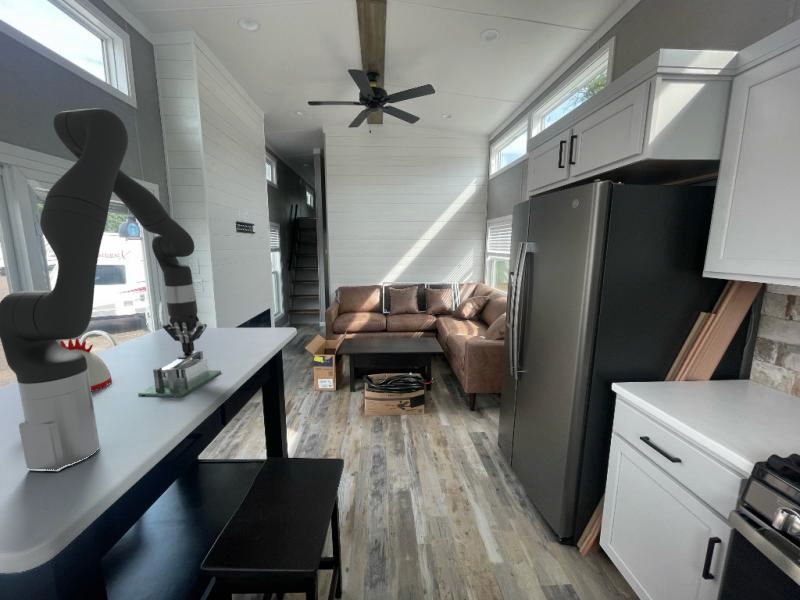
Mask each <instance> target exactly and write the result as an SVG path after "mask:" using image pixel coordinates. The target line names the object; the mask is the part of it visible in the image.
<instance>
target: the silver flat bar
mask: <svg viewBox="0 0 800 600" xmlns="http://www.w3.org/2000/svg"><path fill="white" fill-rule="evenodd" d="M198 351H199V350H194V351H193V353H191V354H184V353H183V354H181V355H179V356H177V359H175V360H174V361H172V362H171V363H169V364H167V365H165V366H164V367H161V368H162V369H160V370H159V373H168V371H167V370H168V369H170V368H176V367H178V366H180V365H181V364H183V363H184V362H186V361H187V360H189V359H192V357H193V356H195V355H197V354H198Z"/></svg>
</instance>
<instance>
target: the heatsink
mask: <svg viewBox="0 0 800 600" xmlns="http://www.w3.org/2000/svg"><path fill="white" fill-rule="evenodd" d="M197 351H198V354H197V355H195V356H193V357H192V358H190V359H189V360H187V361H186V362H184V363H183V364H181V365H180V366H178V367H176V368H170V369H168V370H167V371H168V373H159V370H160V369H162V368H163V367H156V368H153V370H152V372H153V381H154V384H153V385H152V386H150V387H148V388H146V389H143V390H142V391H140V392H137V393H138V395H137V396H138V397H143V396H142V395H145V396H144V397H165V396H176V397H175V398H183V397H186V395H188V394H190V393H191V392H193V391H195V390H196V389H197V388H200V387H201V386H202V385H204V384H206V383H207V382H209V381H211V380H212V379H214V378H216V377H217V376H218V375H220V374H222V370H214V369H213V370H210V369H209V365H208V358H204V353H203V352H204V351H203V350H197Z"/></svg>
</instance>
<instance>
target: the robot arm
mask: <svg viewBox="0 0 800 600" xmlns="http://www.w3.org/2000/svg"><path fill="white" fill-rule="evenodd" d="M52 124H53V128H54V131H55V133H56V135H57V137H58V139H59V140H60V141H61V143H62V144H63V145H64V146H65V147H66V149H67V150H69V152H70V153H72V154H73V155H74V157H76V158H77V161H76V162H75V163H74V164H73V165H72V166H71V167H70V168H69V169H67V171H66V172H65V173H63V174H62V176H61V177H59V178H58V179H57V181H55V183H54V184H53V185H52V186H51V188H50V189H49V191H48V193H47V194H46V197H45V199H44V203H43V207H42V211H41V213H40V214H41V215H40V218H39V220H40V221H39V225H40V229H41V232H42V234H43V236H44V238H45V240H46V241H47V243H48V245H49V246H50V248H51V249H52V251H53V253H54V256H55V257H56V260H57V265H58V266H57V276H56V281H55V283H54V288H53V289H51V290H50V289H49V290H48V289H47V290H23V291H22V290H21V291H20V290H19V291H15V292H11V293H9V294H7V295H6V296H4V297H3V298H2V299H1V301H0V343H1V346H2V349H3V352H4V356H5V359H6V363H7V366H8V367H9V368H10V369H11V371H12V372H13V373H14V374H15V378H16V380H17V384H18V385H17V386H18V389H19V396H20V402H21V407H22V411H23V417H24V421H21V422H20V423H19V424H18V428H19V434H20V439H21V443H22V449H23V454H24V459H25V464H26V469H27V468H29V469H46V470H47V469H48V470H49V469H50V470H51V469H52V470H53V469H54V470H57V469H59V468H61V467H63V466H65V465H68V464H72V463H74V462H77V461H79V460H82V459H84V458H86V457H88V456H90V455H91V454H93V453H94V452H95V451H97V449H98V448H99V446H100V439H99V432H98V425H97V420H96V413H95V406H94V400H93V393H92V392H91V386H90V379H89V373H88V367H87V361H86V358H85V356H84V355H83V354H81V353H78V352H74V351H71V350H69V349H66V348H64V347H62V346H61V345H60V344H59V342H58V341H64V340H70V339H71V340H72V339H77V338H78V337H80V336H81V335H83V334H84V333H85V332H86V330H87V329H88V328H89V325H90V323H91V319H92V314H93V309H94V298H95V285H96V284H95V283H96V272H97V266H98V259H99V254H100V249H101V244H102V241H103V236H104V233H105V228H106V225H107V220H108V216H109V215H108V214H109V210H110V208H109V207H110V203H111V199H112V195H113V193H114V194H115V196H116V197H118V199H119V200H120V201H121V202H122V203H123V204H124V205H125V207H126V208H127V209H128V210H129V211H130V212H131V214H132V215H133V217H134V218H135V219H136V220H137V222H138V223H139V224H140V225H141V226H142V228H143V229H144V230H145V231H146V232H148V233H152V234H155V236H154V237H153V238H152V240H151V241H152V242H151V248H152V252H153V255H154V256H155V258H156V260H157V263H158V265H159V267H160V269H161V272H162V274H163V281H164V286H165V290H164V291H165V292H164V294H165V300H166V301H165V302H166V306H167V314H168V316H169V322H168V323H167V324H165V325H163V330H164V331H166V332H167V334H168V335H169V336H170V337H171V338H172V339H173V340H174V341H175V342H180V343H181V349H182V352H183V354H191V353H193V351H195V345H194V341H196V340H199V339H200V338H201V336H202V334H203V333H204V332H205V331H206V328H207V327H208V325H207V323H202V322H200V318H199V317H198V305H197V298H196V297H197V296H196V290H195V286H194V281H193V275H192V270H191V267H190V266H188V265H186V264H183V263H181V262H180V261H179V259H178V258H186V257H189V256H191V255H192V254H193V253H194V252H195V251H194V250H195V243H194V239H193V238H192V236H191V235H190V233H188V232H187V231H186V230H185V229H184V228H183V227H182V226H181V225H180V224H179V223H178V222H176V221H175V220H174V219H173V218H172V217H171V216H170V215H169V214H168V212H167V210H166V209H165V207H164V206H163V204H162V203H161V202H160V200H159V199H158V198H157V197H156V196H155V195H154V194H153V192H151V191H150V190H149V189H147V188H146V187H145V186H143V185H142V184H141V183H139V182H137V180H134V179H133V178H132V177H131V176H129V175H128V174H126V173H125V172H124V171H123V170H121V166H122V163H123V162H124V158H125V156H126V153H127V150H128V145H129V137H128V131H127V128H126V126H125V123H124V122H123V120H122V119H121V118H120V117H119V116H118V115H117V114H116V113H114V112H112V111H111V110H108V109H104V108H95V107H94V108H84V109H83V108H82V109H81V108H80V109H73V110H71V109H70V110H64V111H60V112H58V113H56V115H55V116H54V117H53V123H52ZM100 447H101V446H100ZM99 449H100V448H99ZM97 452H98V451H97Z"/></svg>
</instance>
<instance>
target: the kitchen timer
mask: <svg viewBox="0 0 800 600" xmlns="http://www.w3.org/2000/svg"><path fill="white" fill-rule="evenodd" d="M59 341H60V342H59V343H60V345H61V346H62V347H64V348H66V349H69V350H71V351H74V352H78V353H81V354H83V355H84V356H85V358H86V361H87V367H88V373H89V379H90V386H91V391H92V392H94V391H93V390H95V391H97V390H96V389H98V390H100V389H99V388H101V387H103V388H105V387H107V386H108V385H107V384H109V383H110V382H111V381H112V375H111V372H110V370H109V368H108V366H107V365H106V363H105V362H104V360H103V359H102V358H101V357H100V356H99V355H97V354H96V353H94V352H92V351H91V350H92V348H93V346H94V345H93V343H92V344H91V345H89V346H88V348H86V344H87V342H86V341H83V342H82V344H81V342H80V340H79V338H78V337H76V338H75V340H74V343H73V340H72V339H68V346H67V345H66V343H65V341H64V340H59ZM111 383H112V382H111ZM111 383H110V384H111ZM110 384H109V385H110ZM106 385H107V386H106ZM104 386H105V387H104ZM101 389H102V388H101Z"/></svg>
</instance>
